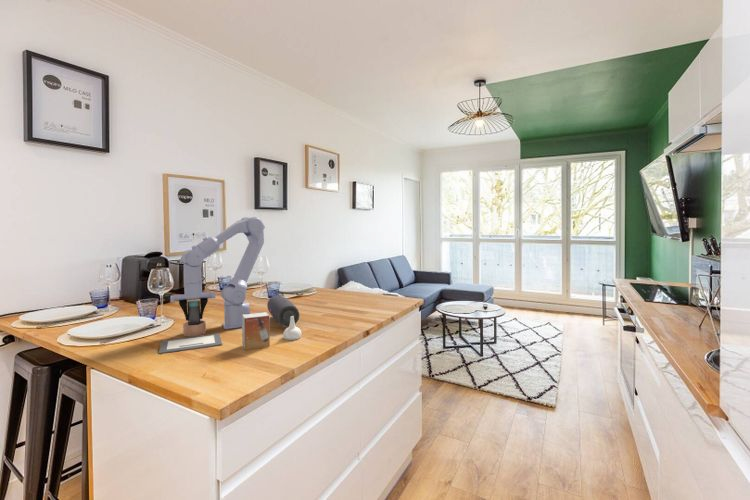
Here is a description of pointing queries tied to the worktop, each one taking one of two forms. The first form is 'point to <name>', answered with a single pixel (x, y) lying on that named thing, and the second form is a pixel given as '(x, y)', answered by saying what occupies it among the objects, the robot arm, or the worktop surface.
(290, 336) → the garlic bulb
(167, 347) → the writing mat
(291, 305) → the bluetooth speaker
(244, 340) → the small box
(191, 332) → the pen cup
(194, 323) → the marker
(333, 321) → the worktop surface
